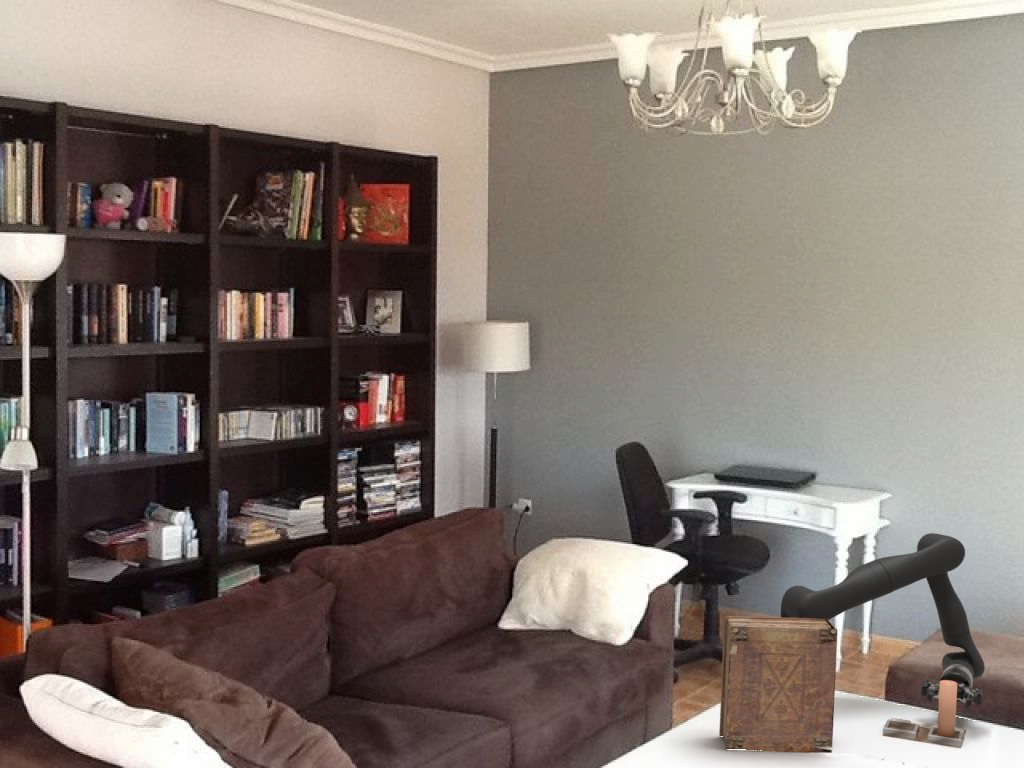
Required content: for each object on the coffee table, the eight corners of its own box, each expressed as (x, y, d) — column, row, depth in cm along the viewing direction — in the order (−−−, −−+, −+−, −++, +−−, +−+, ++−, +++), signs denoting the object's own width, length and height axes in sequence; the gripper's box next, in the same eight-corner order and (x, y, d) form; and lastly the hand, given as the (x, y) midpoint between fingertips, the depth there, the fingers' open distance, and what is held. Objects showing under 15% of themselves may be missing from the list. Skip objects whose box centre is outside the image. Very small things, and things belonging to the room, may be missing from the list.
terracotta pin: (936, 740, 306) (938, 683, 304) (938, 735, 309) (940, 679, 308) (953, 743, 304) (956, 686, 303) (955, 738, 307) (958, 681, 306)
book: (724, 750, 300) (729, 626, 298) (719, 736, 310) (723, 615, 307) (832, 753, 300) (837, 628, 298) (823, 739, 309) (828, 618, 307)
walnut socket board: (882, 741, 308) (882, 729, 308) (890, 724, 321) (891, 712, 321) (960, 754, 301) (960, 741, 301) (966, 735, 314) (966, 723, 313)
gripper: (927, 663, 326) (919, 681, 311) (986, 671, 320) (980, 690, 305) (926, 692, 326) (917, 711, 312) (985, 701, 320) (979, 720, 306)
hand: (949, 700), depth 308 cm, fingers open, 8 cm apart
